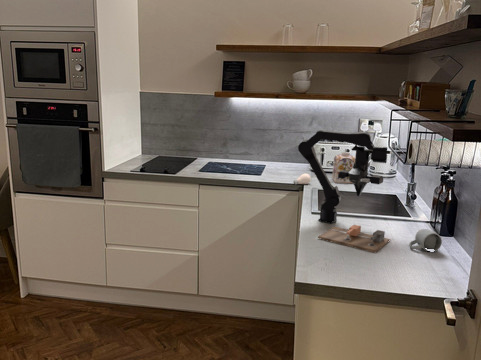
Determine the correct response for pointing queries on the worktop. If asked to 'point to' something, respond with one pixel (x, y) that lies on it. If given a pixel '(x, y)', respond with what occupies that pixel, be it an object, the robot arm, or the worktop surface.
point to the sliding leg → (353, 231)
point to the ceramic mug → (426, 240)
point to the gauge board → (356, 239)
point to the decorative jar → (342, 166)
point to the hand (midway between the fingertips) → (358, 196)
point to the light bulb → (303, 179)
